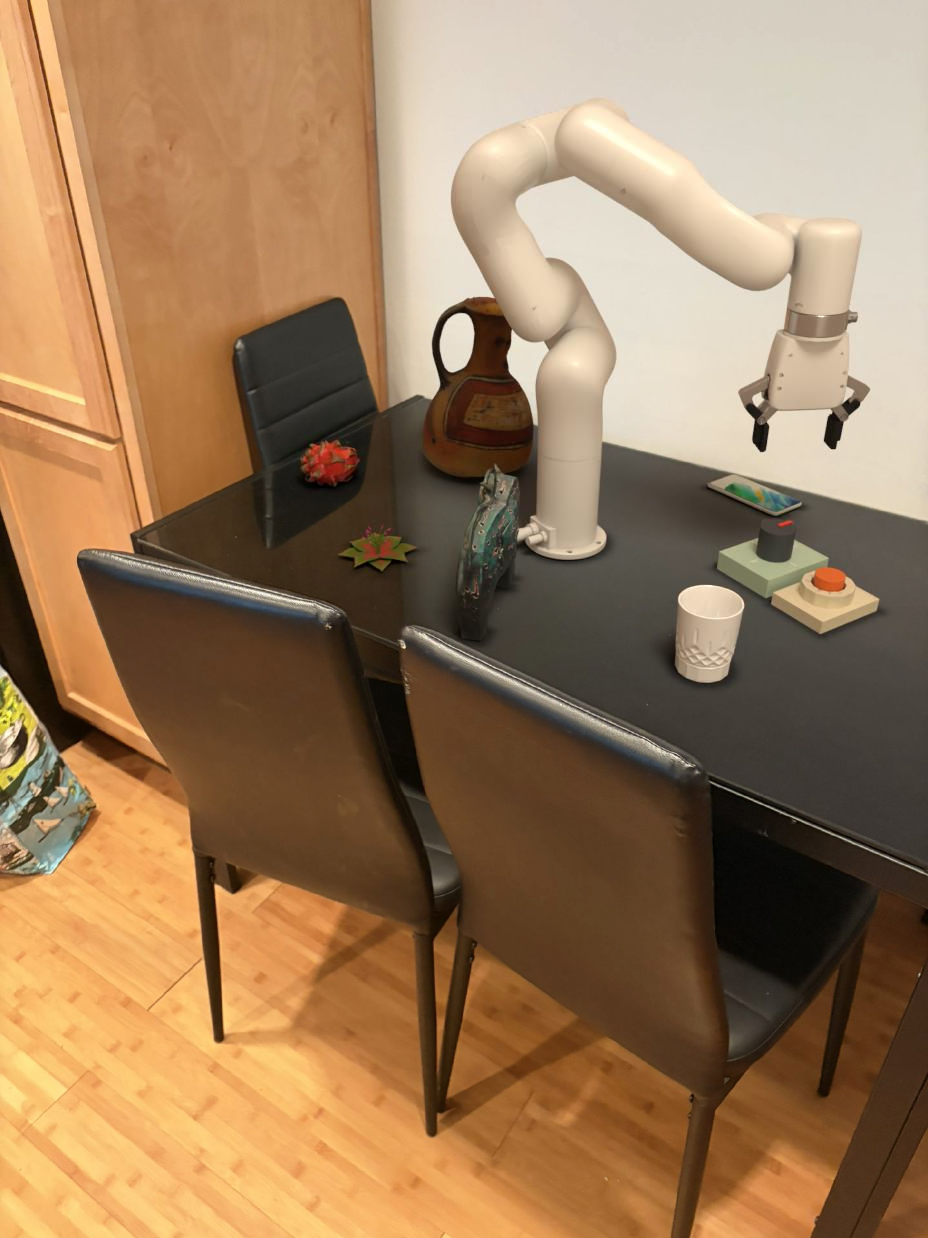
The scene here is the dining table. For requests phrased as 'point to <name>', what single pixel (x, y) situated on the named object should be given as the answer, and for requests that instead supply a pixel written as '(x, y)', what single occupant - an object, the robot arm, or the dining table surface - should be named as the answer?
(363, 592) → the dining table surface
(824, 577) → the button
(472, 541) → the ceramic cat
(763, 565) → the panel
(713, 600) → the white cup
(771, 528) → the program dial
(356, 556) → the lily flower
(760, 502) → the smartphone
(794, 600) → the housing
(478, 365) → the ceramic pitcher
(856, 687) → the dining table surface
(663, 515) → the dining table surface
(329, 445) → the dragon fruit
